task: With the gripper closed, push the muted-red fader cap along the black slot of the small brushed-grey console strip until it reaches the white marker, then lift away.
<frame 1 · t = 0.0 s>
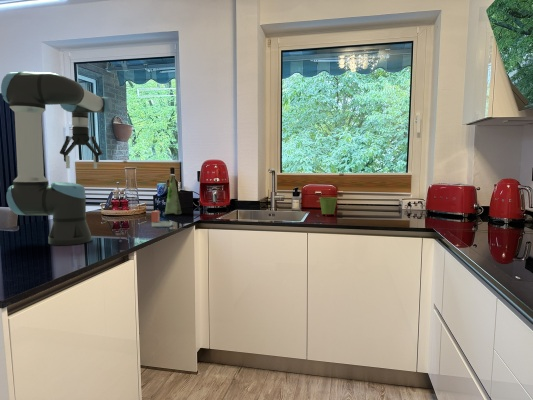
hand: (81, 168, 196), 28 cm above the counter, fingers open, 13 cm apart
console: (161, 225, 192), on the counter
pouch: (172, 214, 236), on the counter
fader: (155, 216, 191), point 5 cm above the counter, slide at 0.0 cm
plant pot: (327, 216, 237), on the counter
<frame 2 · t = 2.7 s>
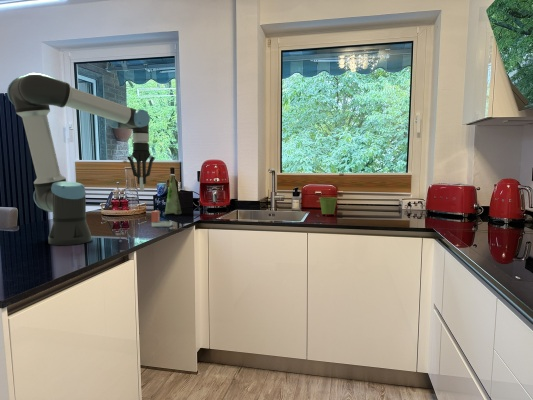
hand: (142, 190, 189), 18 cm above the counter, fingers closed
nothing on the counter moved.
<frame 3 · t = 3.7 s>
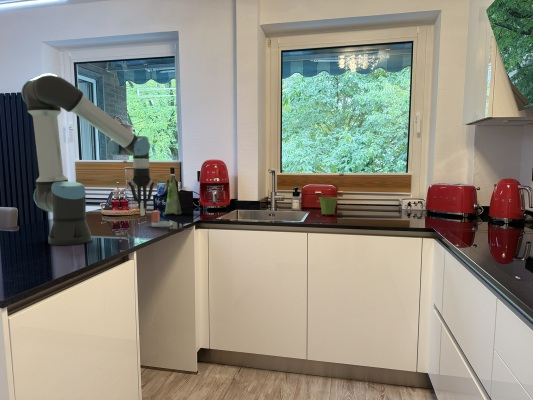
hand: (142, 215, 191), 5 cm above the counter, fingers closed
nothing on the counter moved.
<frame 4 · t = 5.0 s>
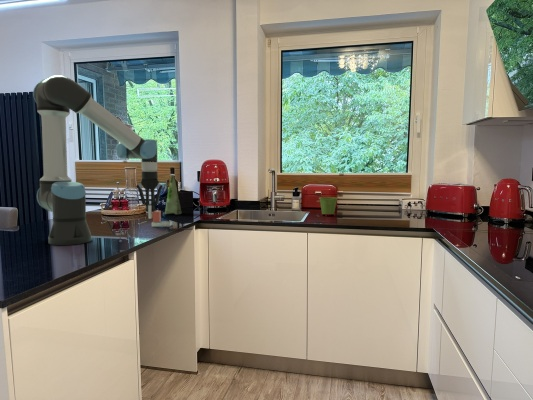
hand: (150, 218, 191), 4 cm above the counter, fingers closed
fader: (156, 216, 191), point 5 cm above the counter, slide at 0.7 cm, touching gripper
everything else where it was.
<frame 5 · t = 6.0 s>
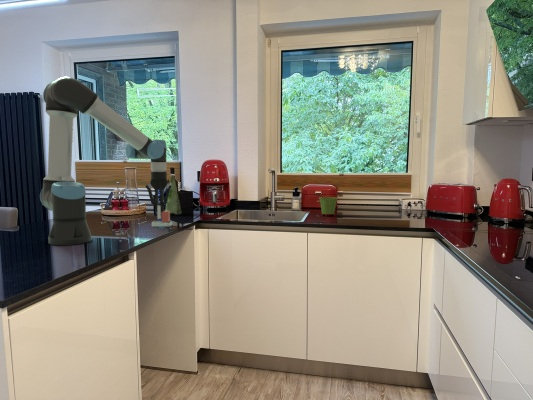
hand: (159, 218, 191), 4 cm above the counter, fingers closed
fader: (166, 216, 192), point 5 cm above the counter, slide at 5.2 cm, touching gripper
everything else where it was.
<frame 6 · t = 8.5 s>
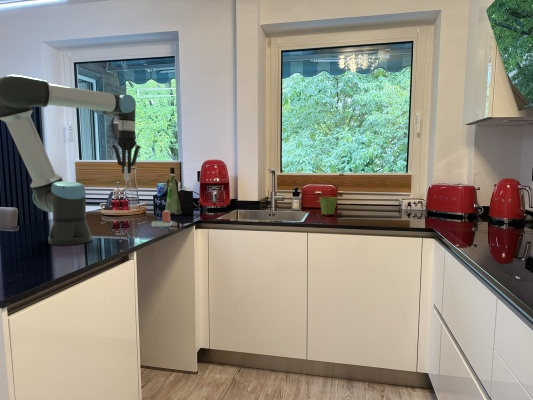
hand: (126, 180, 183), 23 cm above the counter, fingers closed
fader: (166, 216, 192), point 5 cm above the counter, slide at 5.3 cm
everything else where it was.
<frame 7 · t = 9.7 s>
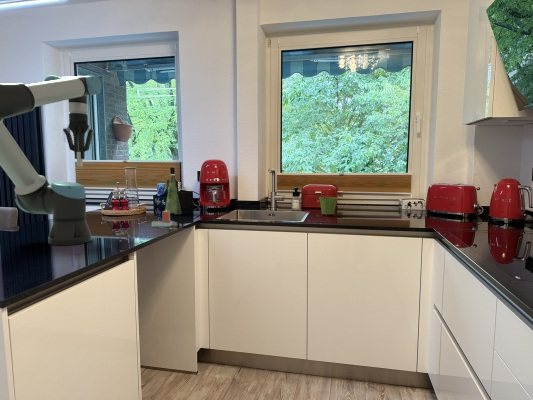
hand: (80, 166, 173), 29 cm above the counter, fingers closed
nothing on the counter moved.
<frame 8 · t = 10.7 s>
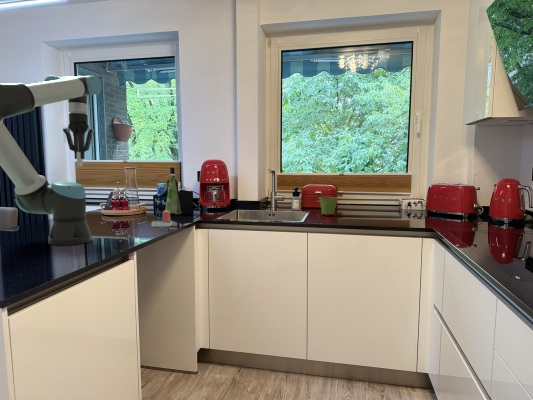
hand: (79, 166, 173), 29 cm above the counter, fingers closed
nothing on the counter moved.
at the end: fader slide at 5.3 cm; fader touching nothing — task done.
